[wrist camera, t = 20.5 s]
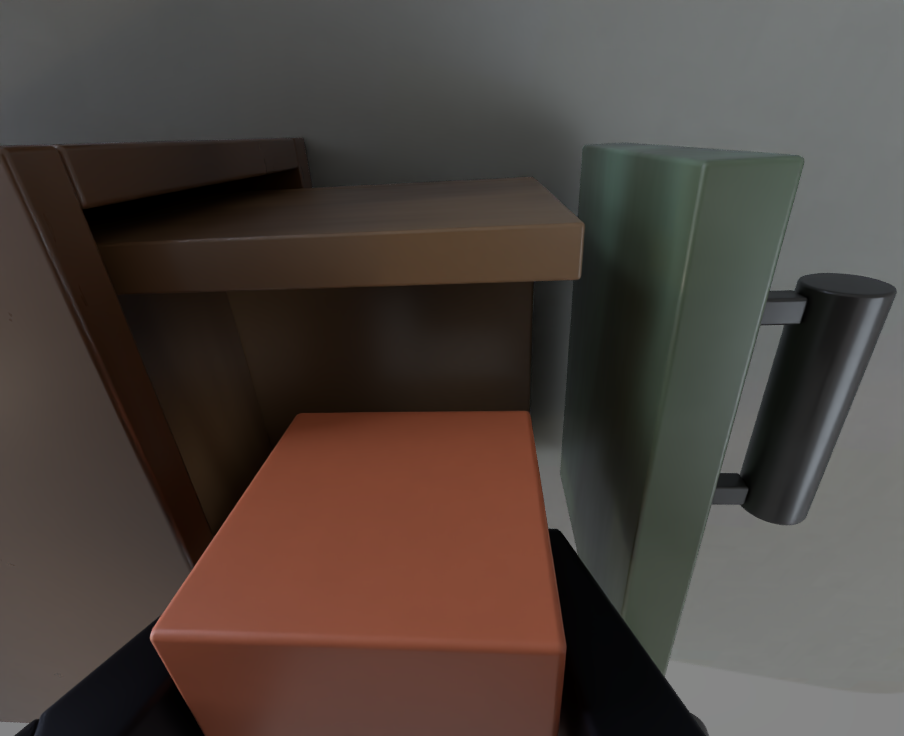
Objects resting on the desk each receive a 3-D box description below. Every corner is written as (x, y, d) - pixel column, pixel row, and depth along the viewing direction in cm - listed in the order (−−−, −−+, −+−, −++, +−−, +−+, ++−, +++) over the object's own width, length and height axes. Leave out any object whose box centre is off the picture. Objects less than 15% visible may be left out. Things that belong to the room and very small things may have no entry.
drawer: (796, 132, 12) (1220, 133, 5) (708, 473, 17) (859, 704, 10) (187, 166, 13) (-134, 205, 6) (276, 473, 19) (152, 676, 12)
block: (526, 574, 9) (549, 842, 6) (335, 570, 10) (249, 821, 6) (530, 408, 8) (569, 651, 4) (297, 410, 8) (141, 636, 4)
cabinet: (304, 137, 14) (-1, 144, 5) (363, 470, 19) (268, 737, 11) (-106, 162, 15) (-920, 203, 6) (65, 470, 20) (-235, 711, 12)
